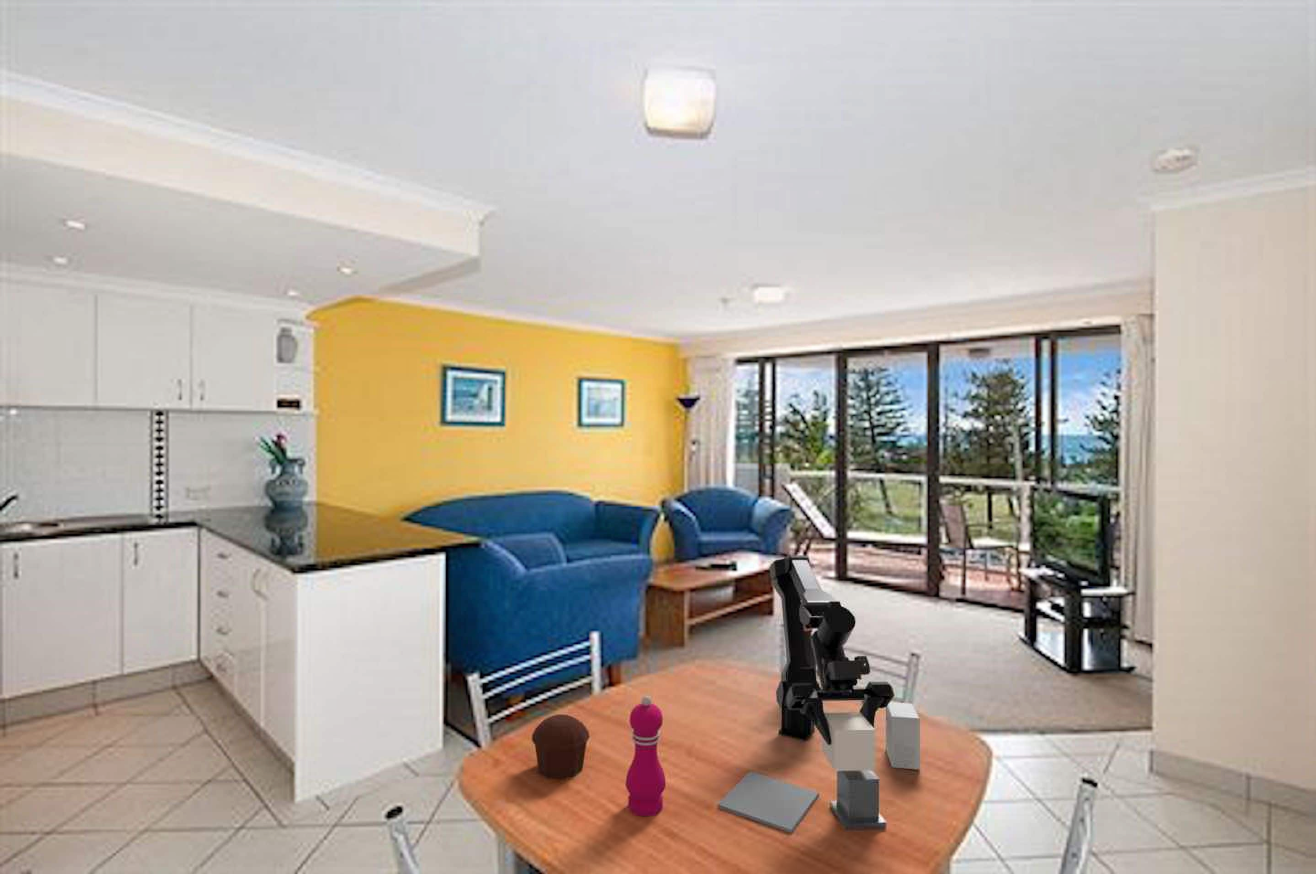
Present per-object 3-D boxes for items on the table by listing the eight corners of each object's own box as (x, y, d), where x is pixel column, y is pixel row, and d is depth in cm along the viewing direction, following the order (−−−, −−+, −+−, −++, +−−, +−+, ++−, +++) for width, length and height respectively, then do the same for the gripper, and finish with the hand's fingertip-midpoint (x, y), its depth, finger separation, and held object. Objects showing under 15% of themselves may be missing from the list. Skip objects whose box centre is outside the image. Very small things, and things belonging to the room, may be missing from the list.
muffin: (600, 763, 133) (600, 714, 133) (568, 788, 123) (568, 736, 123) (553, 750, 139) (554, 703, 139) (519, 773, 129) (519, 722, 129)
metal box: (830, 806, 118) (830, 762, 118) (868, 804, 119) (868, 760, 119) (845, 830, 111) (846, 783, 111) (886, 828, 111) (886, 781, 112)
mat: (717, 807, 117) (717, 804, 117) (750, 774, 129) (750, 771, 129) (791, 833, 110) (791, 829, 110) (818, 795, 122) (818, 792, 122)
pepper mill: (624, 796, 121) (625, 688, 121) (663, 795, 121) (664, 688, 121) (626, 819, 113) (627, 704, 114) (667, 817, 114) (668, 703, 114)
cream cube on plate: (822, 751, 118) (822, 712, 118) (859, 750, 119) (860, 712, 119) (834, 771, 111) (835, 730, 111) (874, 770, 112) (875, 729, 112)
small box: (920, 771, 131) (920, 718, 131) (890, 768, 132) (891, 716, 132) (912, 752, 139) (913, 703, 139) (885, 749, 140) (885, 700, 140)
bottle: (795, 703, 164) (795, 624, 164) (785, 693, 171) (785, 617, 171) (820, 701, 165) (820, 623, 165) (809, 691, 172) (809, 616, 172)
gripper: (790, 639, 118) (807, 726, 107) (890, 638, 119) (917, 724, 108) (779, 667, 126) (794, 751, 115) (873, 666, 127) (897, 749, 116)
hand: (850, 743), depth 114 cm, fingers closed on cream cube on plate, 7 cm apart
